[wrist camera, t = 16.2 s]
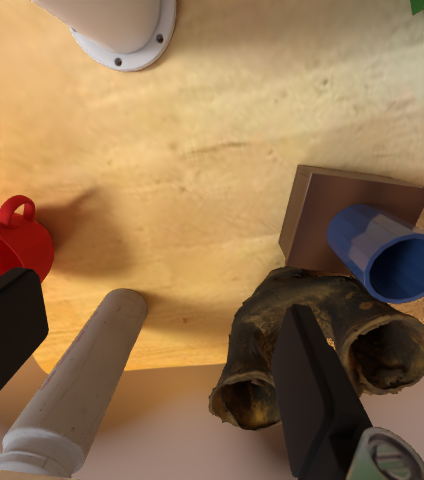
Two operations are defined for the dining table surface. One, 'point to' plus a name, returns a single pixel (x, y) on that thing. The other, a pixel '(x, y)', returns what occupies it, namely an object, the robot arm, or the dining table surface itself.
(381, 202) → the box lid
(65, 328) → the dining table surface
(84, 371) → the thermos bottle
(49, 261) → the ceramic cup
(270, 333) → the pottery vessel
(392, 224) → the cup
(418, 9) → the hardback book
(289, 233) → the box
